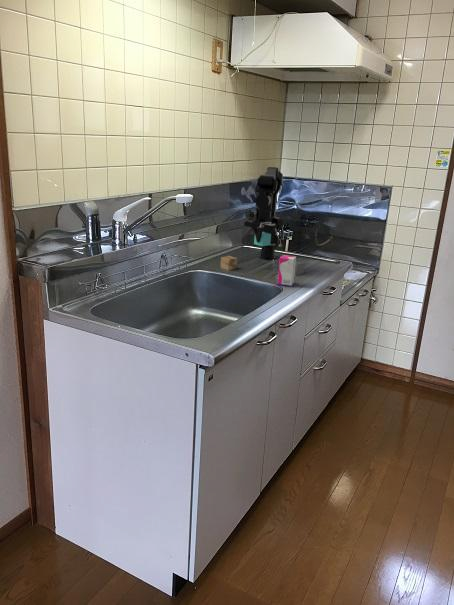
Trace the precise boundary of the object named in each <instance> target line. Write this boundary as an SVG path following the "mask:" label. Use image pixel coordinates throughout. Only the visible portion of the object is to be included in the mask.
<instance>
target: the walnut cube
mask: <svg viewBox="0 0 454 605" xmlns="http://www.w3.org/2000/svg"><path fill="white" fill-rule="evenodd" d="M237 264H238V258H237V257H235V256H231V255H226V256H221V257H220V269H222V270H225V269H226V270H225V271H233V270H237Z"/></svg>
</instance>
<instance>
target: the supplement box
mask: <svg viewBox="0 0 454 605" xmlns="http://www.w3.org/2000/svg"><path fill="white" fill-rule="evenodd" d="M278 261H279V263H278V272H277V273H278V276H277V286H280V287H281V286H282V287H283V286H284V287H289V288H290V287H291V288H292V286H293V285H294V284H295V276H296V275H295V265H296V261H297V256H295V255H285V254H282V255H281V256H280V257H279V260H278Z"/></svg>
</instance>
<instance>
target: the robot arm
mask: <svg viewBox="0 0 454 605" xmlns="http://www.w3.org/2000/svg"><path fill="white" fill-rule="evenodd" d="M283 185H284V174H283V173H282V172H281V171H280V168H279V167H275V166H268V167H267V168H266V171H265V173H264V174H260V175H259V177H258V178H257V180H256V188H255V192H256V193H258V195H257V196H256V197H255V199H254V202H255V210H254V211H252V210H251V209H247V210H245V213H244V216H245V220H244V223H243V226H244V227H248V228H251V229H252V230H253V233H254V238H255V237H256V240H257V242H258V243H259V242H260V239H261V235H262V232H266V233H270V234H271V241H270V245H268V246H261V248H260V249H261V250H260V255H259V256H258V258H260V259H263V260H266V261H269V260H275V259H277V257H275V252H276V248H279V246H280V245H279V244H280V242H279V241H280V238H279V236H278V231H277V228H278V226H280V225H281V226H282V225H283V222H284V221H283V218H282V217H279V216H276V211H277V210H276V209H277V200H278V194H279V192H280V191H281V189H282V186H283ZM262 225H263V227H262Z"/></svg>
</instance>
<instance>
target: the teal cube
mask: <svg viewBox="0 0 454 605" xmlns="http://www.w3.org/2000/svg"><path fill="white" fill-rule="evenodd" d="M253 241H254V242H253V245H256V246H259V247H262V246H268V245H270V241H271V234H270V233H266V232H262V235H261V239H260V242H259V243H258V242H257V240H256V237H255V236H254V239H253Z"/></svg>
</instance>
